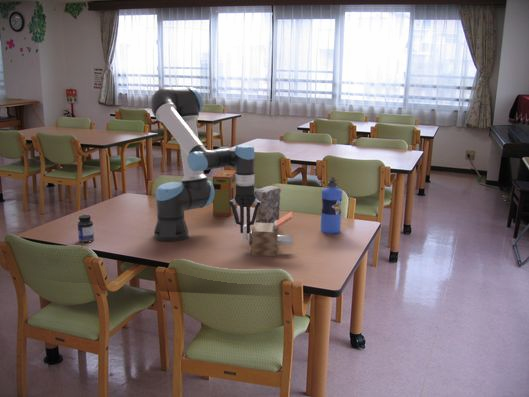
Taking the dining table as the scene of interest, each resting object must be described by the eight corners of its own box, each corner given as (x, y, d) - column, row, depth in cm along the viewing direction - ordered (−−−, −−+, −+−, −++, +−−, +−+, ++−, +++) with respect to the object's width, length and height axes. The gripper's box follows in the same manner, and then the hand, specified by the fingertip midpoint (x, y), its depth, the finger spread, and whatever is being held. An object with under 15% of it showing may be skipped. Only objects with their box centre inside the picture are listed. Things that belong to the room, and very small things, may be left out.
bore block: (251, 255, 214) (251, 231, 212) (254, 245, 226) (254, 222, 223) (276, 256, 213) (276, 232, 211) (278, 246, 225) (278, 223, 222)
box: (220, 206, 286) (220, 170, 281) (237, 207, 284) (236, 170, 280) (213, 215, 270) (212, 176, 265) (230, 216, 268) (230, 177, 263)
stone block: (267, 235, 239) (267, 191, 234) (253, 233, 242) (253, 189, 237) (280, 227, 250) (281, 186, 245) (267, 225, 253) (267, 184, 248)
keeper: (274, 231, 212) (271, 227, 212) (275, 224, 221) (273, 221, 221) (292, 219, 210) (290, 216, 210) (293, 213, 219) (291, 210, 219)
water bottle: (316, 231, 246) (317, 177, 239) (328, 226, 252) (330, 174, 246) (332, 235, 239) (334, 180, 233) (344, 230, 246) (347, 177, 240)
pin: (249, 247, 217) (249, 233, 215) (250, 243, 222) (250, 229, 221) (291, 249, 215) (292, 235, 214) (292, 244, 221) (292, 230, 219)
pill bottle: (78, 239, 231) (76, 215, 229) (93, 237, 234) (91, 213, 231) (79, 243, 226) (77, 218, 223) (94, 242, 228) (92, 217, 225)
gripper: (227, 185, 210) (228, 243, 216) (260, 186, 209) (260, 244, 215) (230, 181, 218) (230, 237, 223) (262, 182, 216) (262, 238, 222)
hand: (245, 240), depth 219 cm, fingers closed
